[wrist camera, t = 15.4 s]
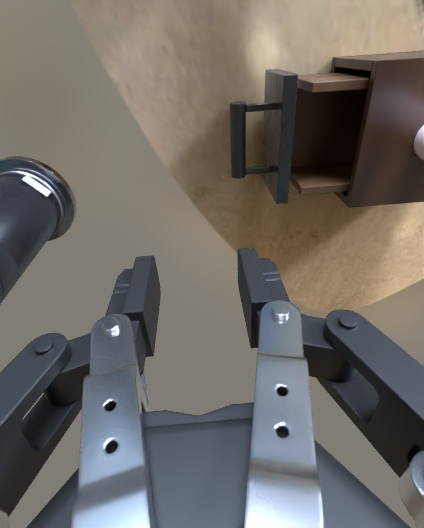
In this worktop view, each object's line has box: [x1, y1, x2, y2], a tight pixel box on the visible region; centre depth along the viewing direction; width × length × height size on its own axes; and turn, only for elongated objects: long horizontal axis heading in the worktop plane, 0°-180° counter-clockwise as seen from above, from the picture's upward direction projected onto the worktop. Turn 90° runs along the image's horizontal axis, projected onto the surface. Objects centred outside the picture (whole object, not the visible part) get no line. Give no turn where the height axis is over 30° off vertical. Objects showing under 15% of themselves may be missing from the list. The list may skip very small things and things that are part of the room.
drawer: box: [230, 69, 371, 204], centre depth 32 cm, size 17×11×8 cm
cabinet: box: [331, 51, 424, 207], centre depth 33 cm, size 14×13×10 cm
